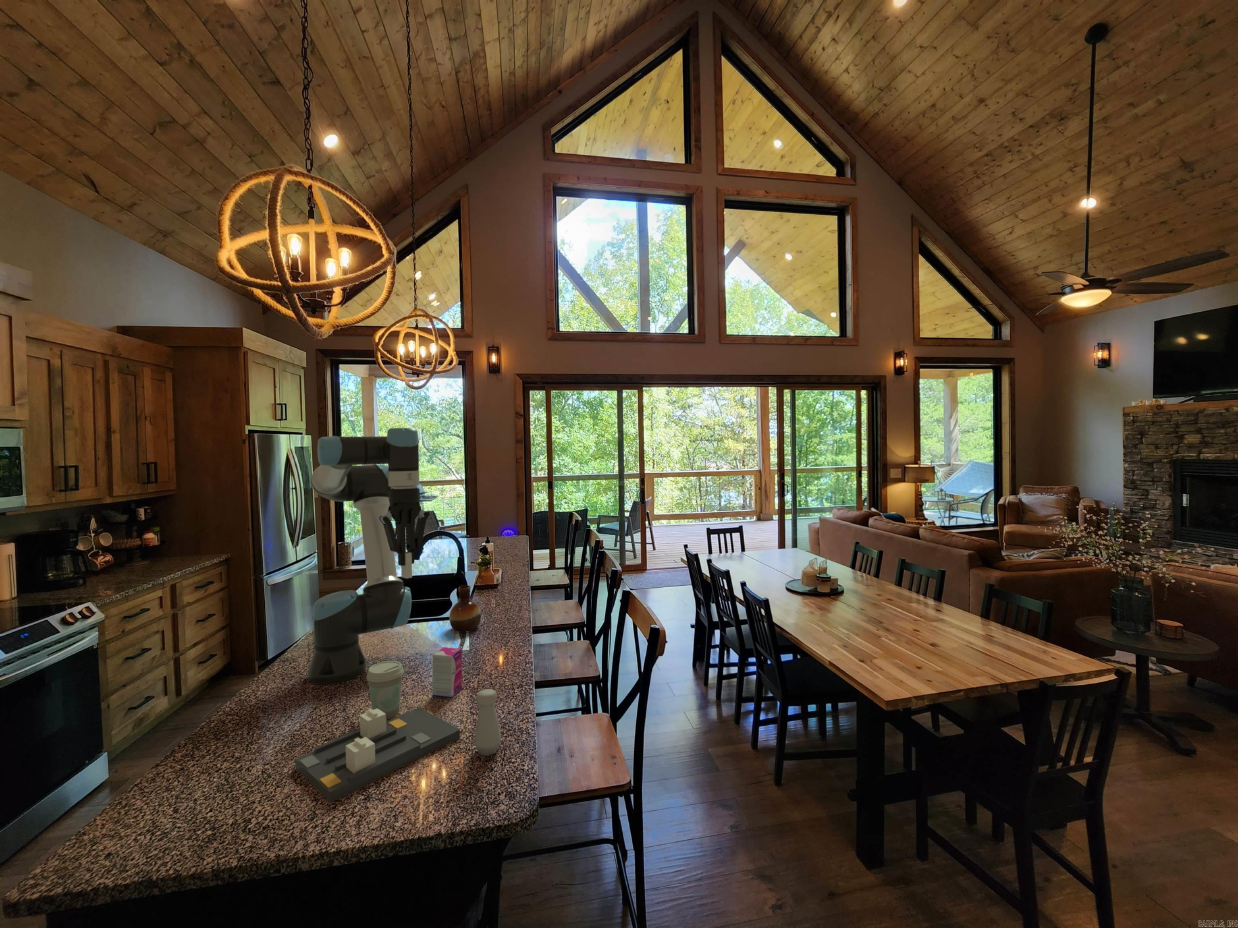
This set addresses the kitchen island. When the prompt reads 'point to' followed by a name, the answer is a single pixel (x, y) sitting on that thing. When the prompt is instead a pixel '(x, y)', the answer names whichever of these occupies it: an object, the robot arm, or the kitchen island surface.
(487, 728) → the salt shaker
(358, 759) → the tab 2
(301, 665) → the kitchen island surface
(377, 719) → the white slider knob
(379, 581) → the robot arm
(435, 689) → the supplement box
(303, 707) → the kitchen island surface
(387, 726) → the switch bank
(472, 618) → the vase
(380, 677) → the coffee cup
